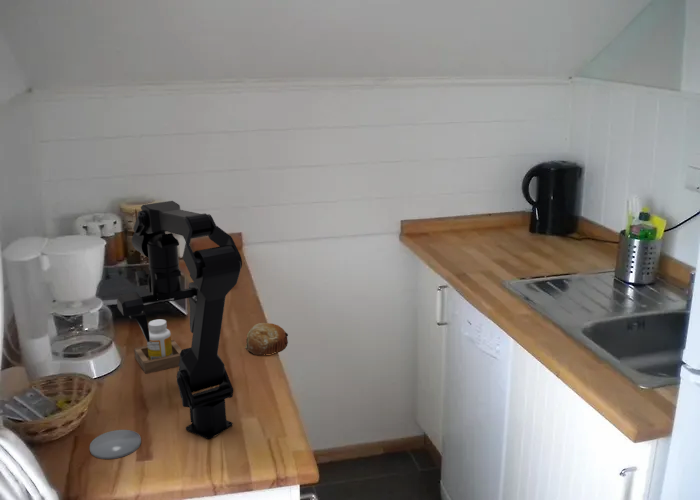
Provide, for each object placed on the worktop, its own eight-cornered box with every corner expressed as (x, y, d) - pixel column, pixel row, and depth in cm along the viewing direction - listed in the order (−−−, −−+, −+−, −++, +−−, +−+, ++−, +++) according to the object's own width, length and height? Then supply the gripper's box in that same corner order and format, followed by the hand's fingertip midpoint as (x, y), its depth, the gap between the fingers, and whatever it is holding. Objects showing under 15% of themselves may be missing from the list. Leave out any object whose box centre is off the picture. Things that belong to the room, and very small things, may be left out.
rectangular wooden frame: (186, 364, 166) (185, 354, 165) (145, 373, 162) (144, 363, 161) (174, 349, 174) (173, 339, 173) (135, 358, 170) (134, 348, 169)
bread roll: (249, 355, 179) (234, 330, 176) (284, 332, 181) (269, 307, 178) (260, 371, 170) (245, 345, 167) (297, 347, 173) (282, 321, 169)
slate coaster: (151, 441, 135) (151, 438, 134) (111, 464, 127) (110, 461, 127) (119, 427, 139) (119, 424, 139) (79, 449, 132) (79, 446, 132)
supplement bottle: (169, 354, 171) (165, 316, 169) (176, 363, 167) (172, 323, 164) (146, 359, 169) (142, 320, 166) (152, 368, 164) (148, 328, 161)
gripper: (196, 247, 155) (201, 315, 160) (107, 261, 147) (115, 332, 151) (214, 260, 146) (219, 332, 151) (119, 276, 137) (127, 351, 142)
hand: (170, 336), depth 149 cm, fingers open, 9 cm apart
